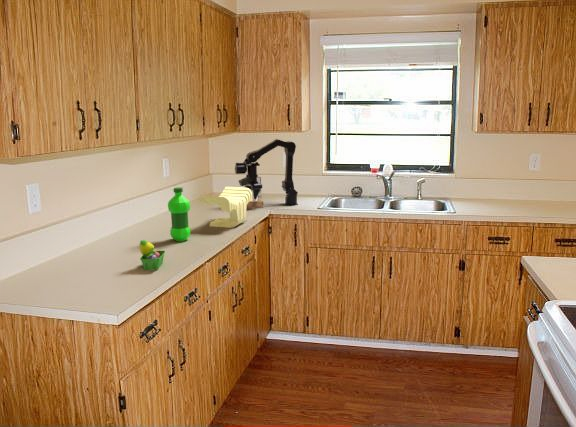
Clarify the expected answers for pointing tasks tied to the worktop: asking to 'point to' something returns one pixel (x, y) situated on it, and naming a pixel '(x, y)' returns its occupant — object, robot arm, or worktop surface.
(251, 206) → the copper brown block
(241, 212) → the slatted curved stool
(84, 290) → the worktop surface
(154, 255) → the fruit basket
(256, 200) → the faceted beige tumbler
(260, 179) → the coffee box
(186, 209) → the plastic bottle
